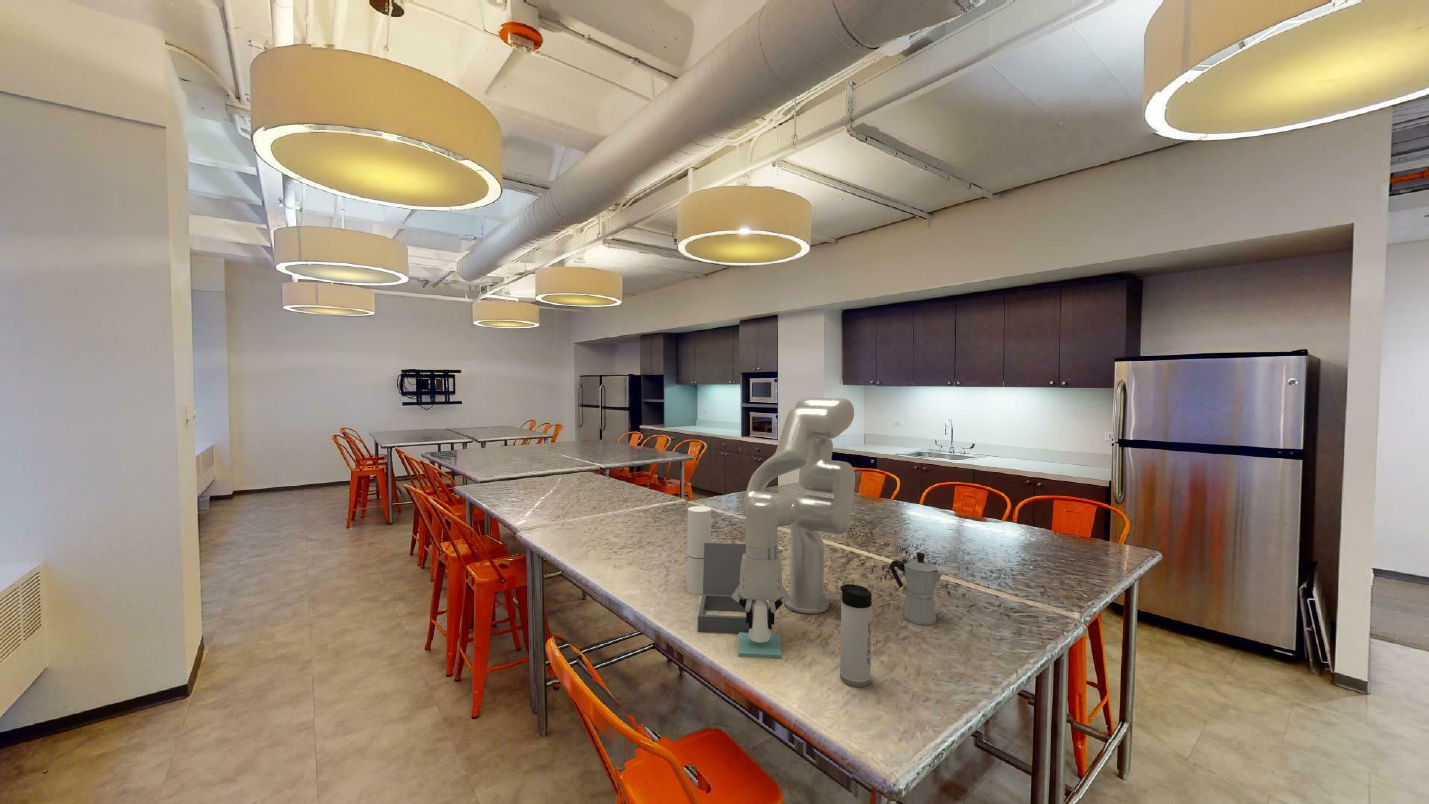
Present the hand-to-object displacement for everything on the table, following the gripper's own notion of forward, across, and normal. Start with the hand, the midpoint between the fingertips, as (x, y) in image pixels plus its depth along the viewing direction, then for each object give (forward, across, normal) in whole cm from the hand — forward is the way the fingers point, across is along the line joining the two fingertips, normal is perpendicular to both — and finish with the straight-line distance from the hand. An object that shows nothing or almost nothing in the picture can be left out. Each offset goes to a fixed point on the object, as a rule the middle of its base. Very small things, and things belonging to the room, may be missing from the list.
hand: (760, 625), depth 122 cm
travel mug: (+5, -20, +12) cm, 24 cm away
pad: (+5, 0, 0) cm, 5 cm away
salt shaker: (+3, 0, 0) cm, 3 cm away
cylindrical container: (+5, +18, -33) cm, 38 cm away
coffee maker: (+5, -43, -20) cm, 48 cm away
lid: (-6, +7, -21) cm, 23 cm away
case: (+5, +7, -13) cm, 15 cm away
